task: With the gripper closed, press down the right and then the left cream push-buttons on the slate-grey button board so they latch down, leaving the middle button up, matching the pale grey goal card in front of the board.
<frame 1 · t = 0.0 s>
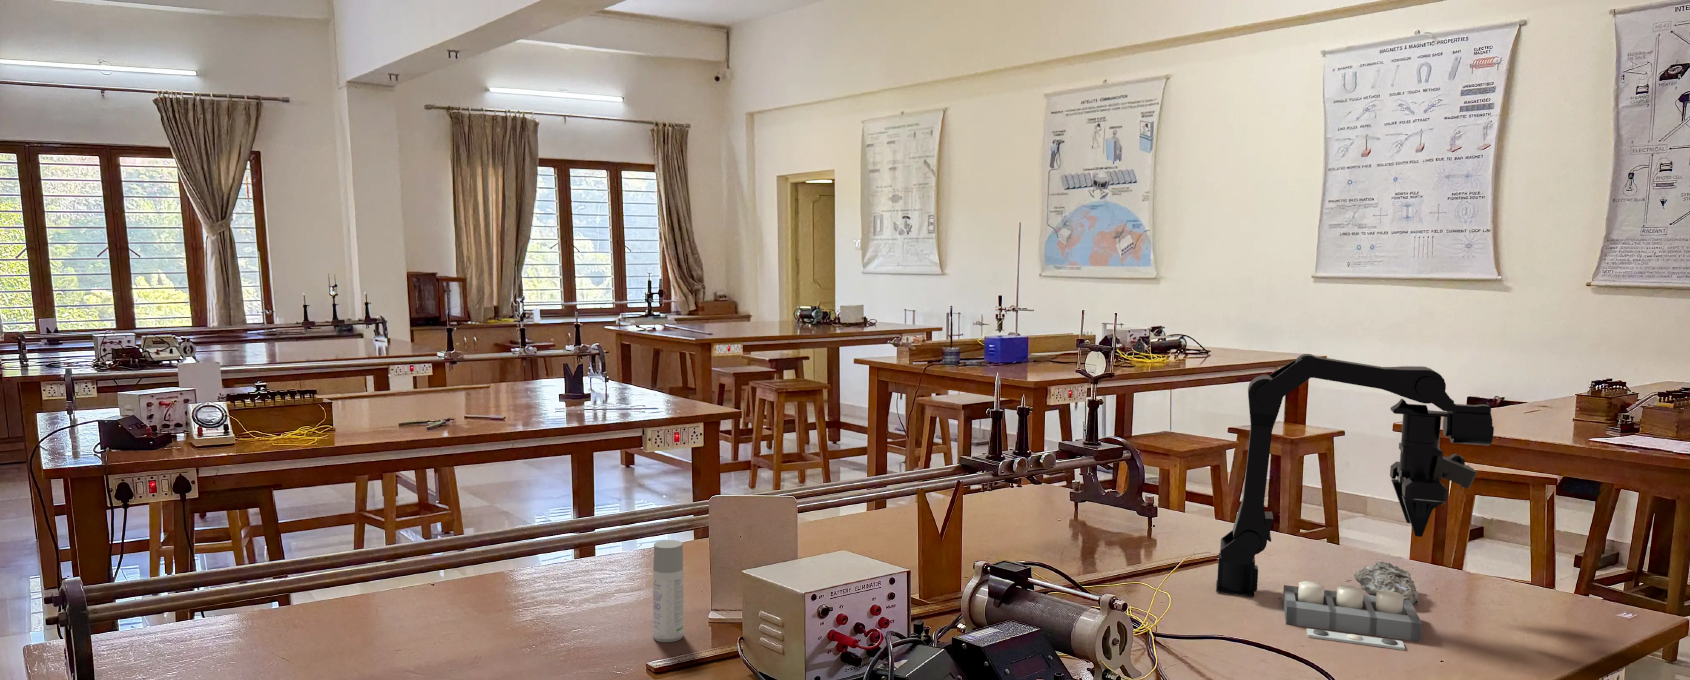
hand: (1414, 529, 179), 15 cm above the table, fingers open, 9 cm apart
container: (668, 637, 163), on the table
button board: (1348, 620, 175), on the table
button middle: (1349, 599, 175), point 4 cm above the table, slide at 0.0 cm
goal card: (1354, 640, 166), on the table
button right: (1389, 604, 173), point 4 cm above the table, slide at 0.0 cm
mineral specimen: (1388, 599, 187), on the table
button left: (1310, 595, 177), point 4 cm above the table, slide at 0.0 cm
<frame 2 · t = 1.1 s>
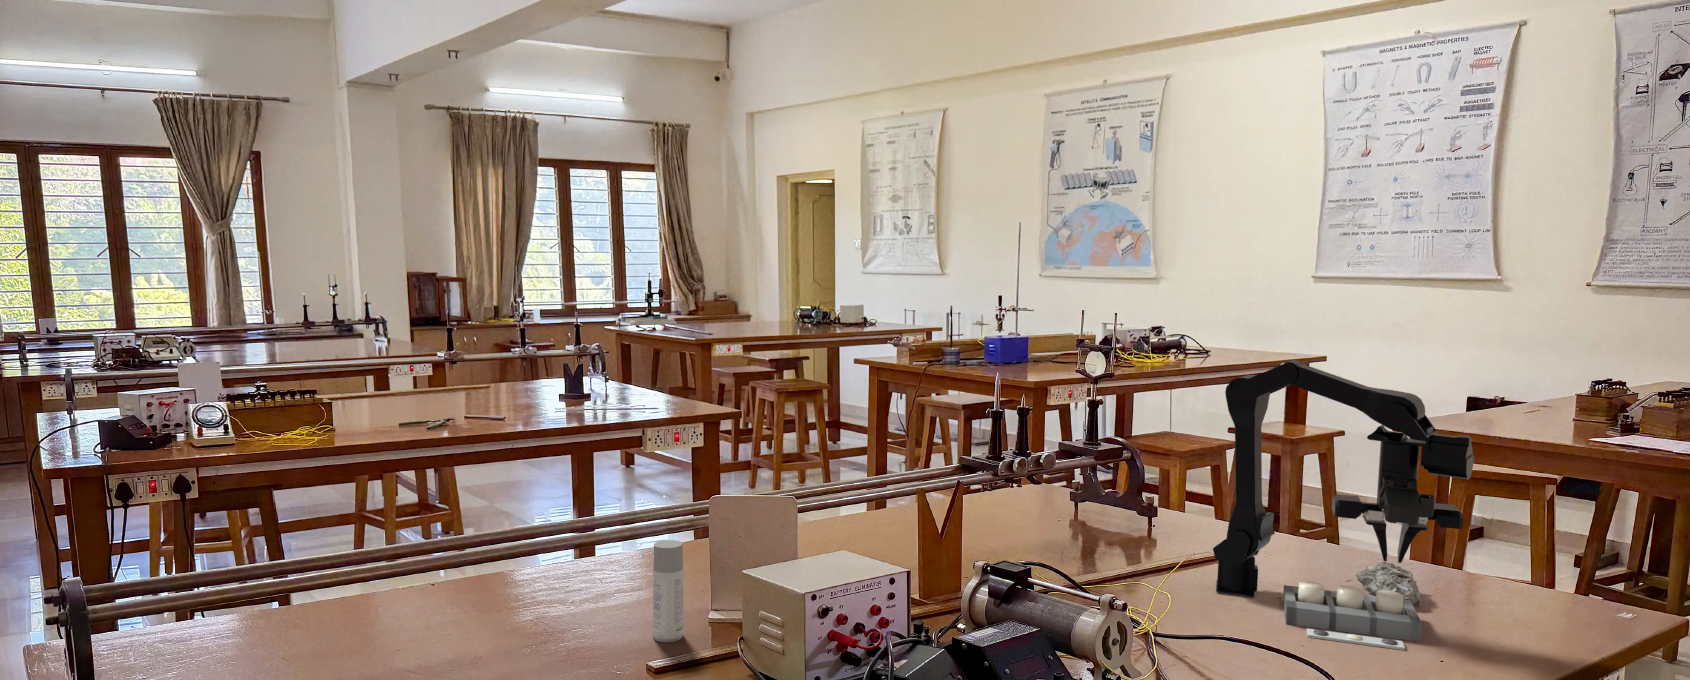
hand: (1392, 561, 172), 11 cm above the table, fingers closed
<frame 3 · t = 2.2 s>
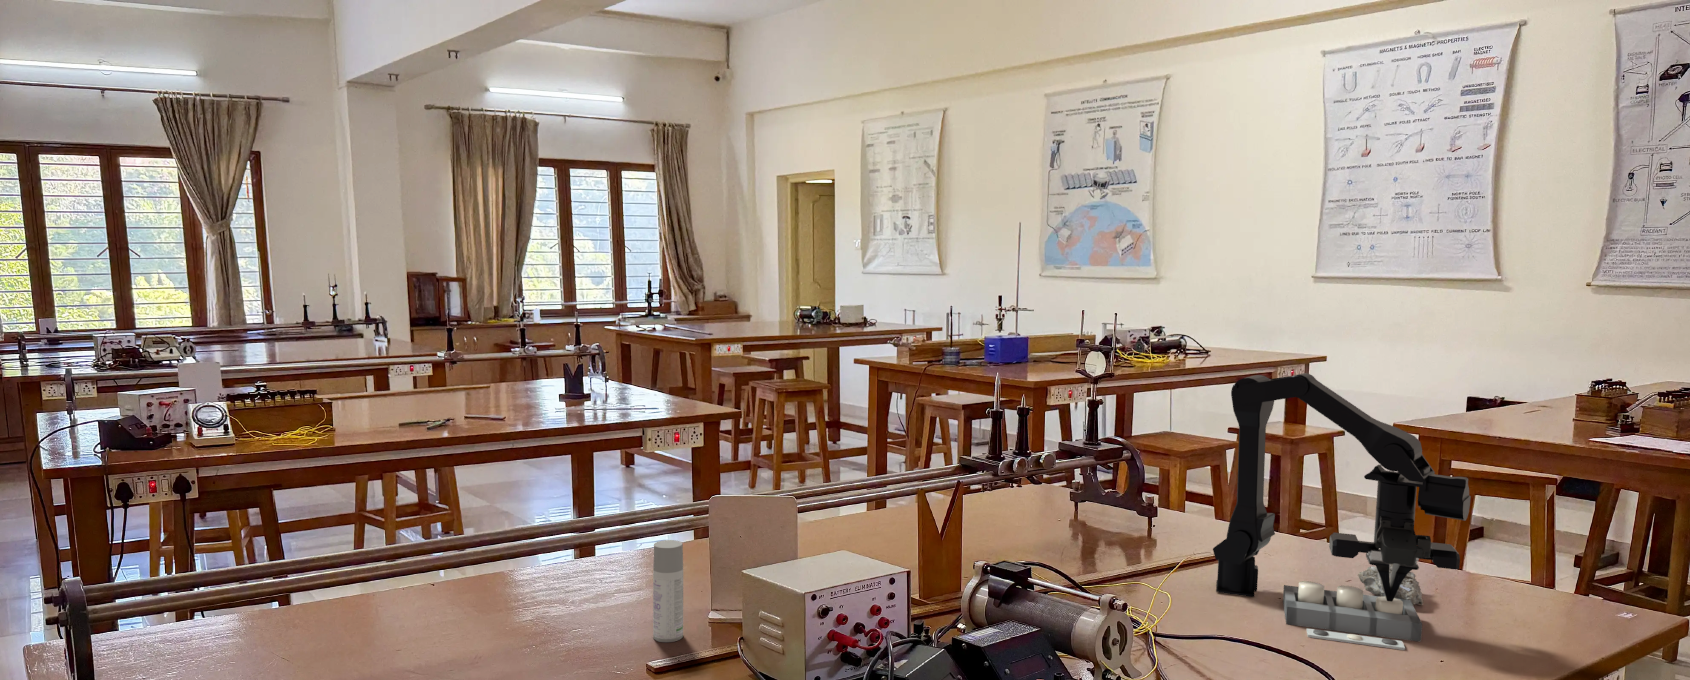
hand: (1389, 600, 173), 4 cm above the table, fingers closed, pressing on button right
button right: (1388, 610, 173), point 3 cm above the table, slide at 1.1 cm, touching gripper
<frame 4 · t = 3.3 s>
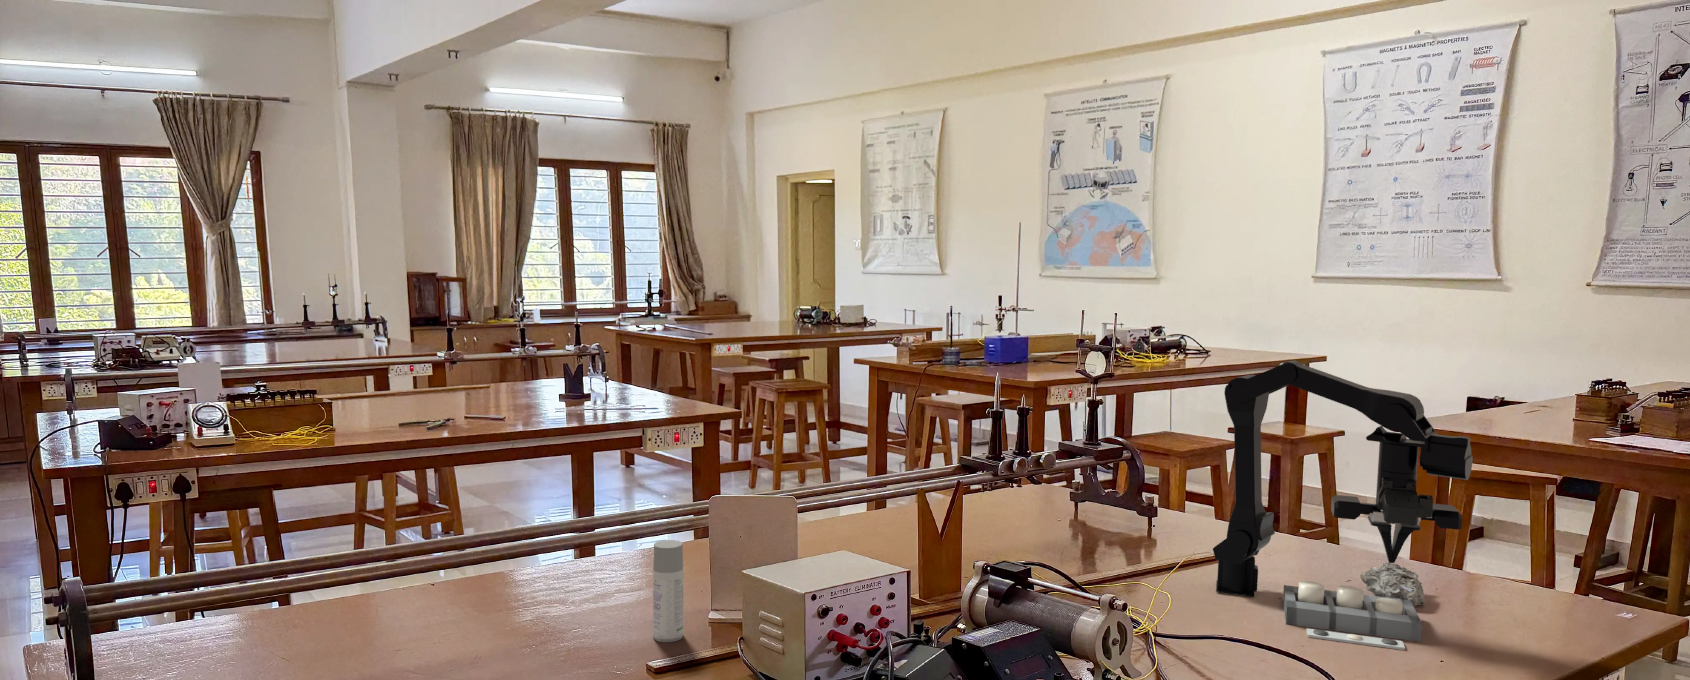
hand: (1391, 562, 172), 11 cm above the table, fingers closed
button right: (1388, 612, 173), point 2 cm above the table, slide at 1.3 cm
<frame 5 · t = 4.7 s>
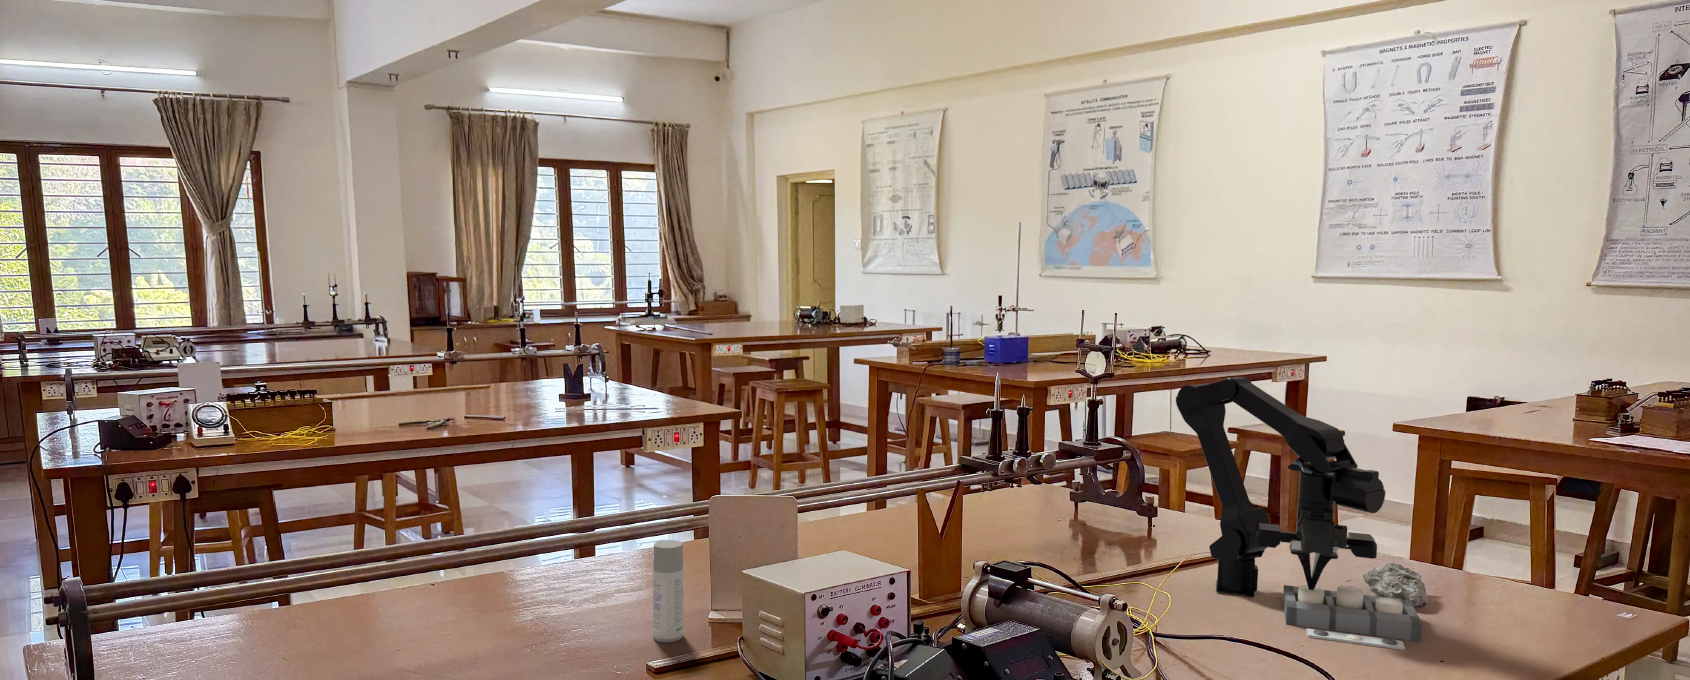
hand: (1310, 589, 177), 5 cm above the table, fingers closed, pressing on button left
button left: (1310, 599, 177), point 3 cm above the table, slide at 0.8 cm, touching gripper
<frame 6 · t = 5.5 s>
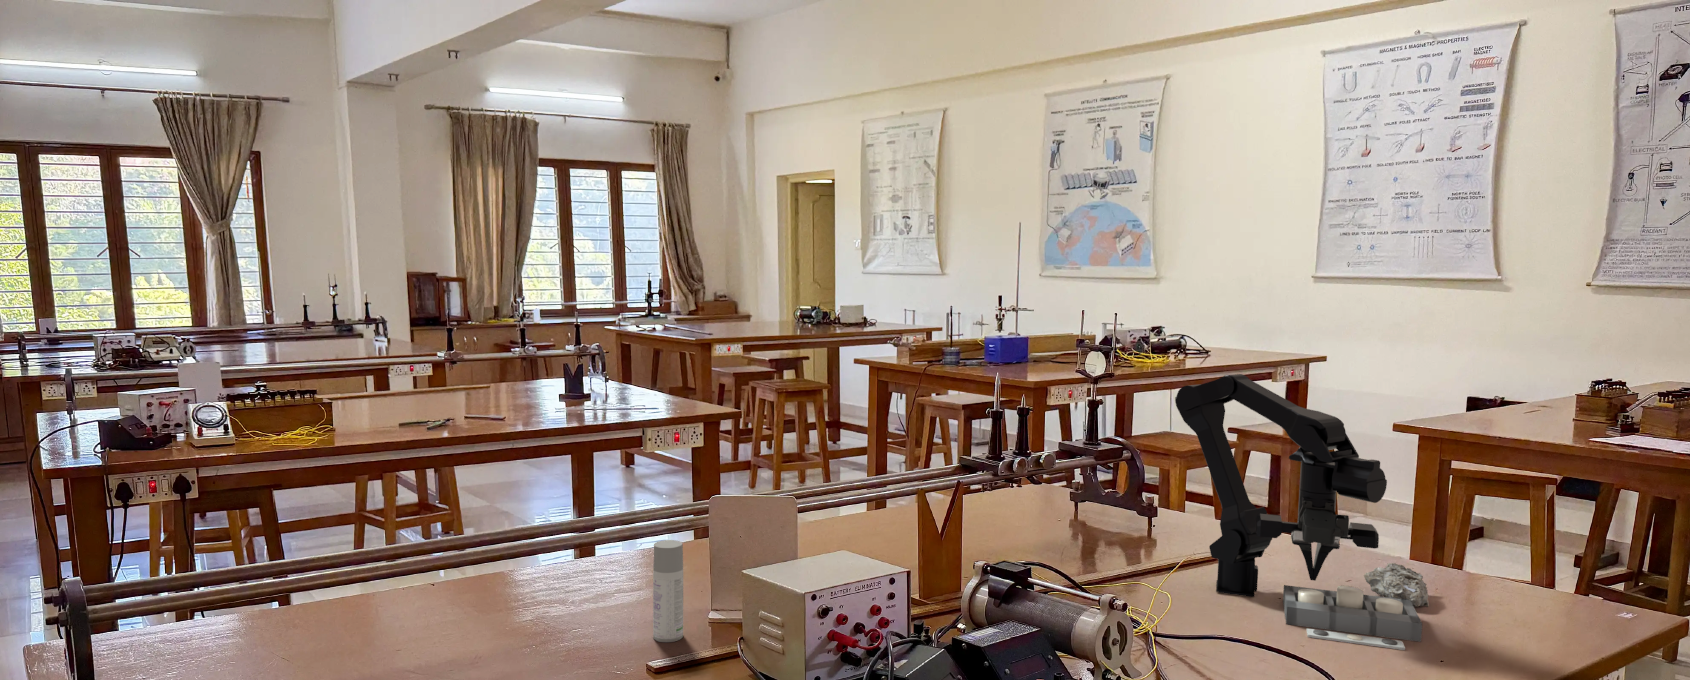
hand: (1312, 579, 176), 6 cm above the table, fingers closed
button left: (1310, 602, 177), point 2 cm above the table, slide at 1.3 cm
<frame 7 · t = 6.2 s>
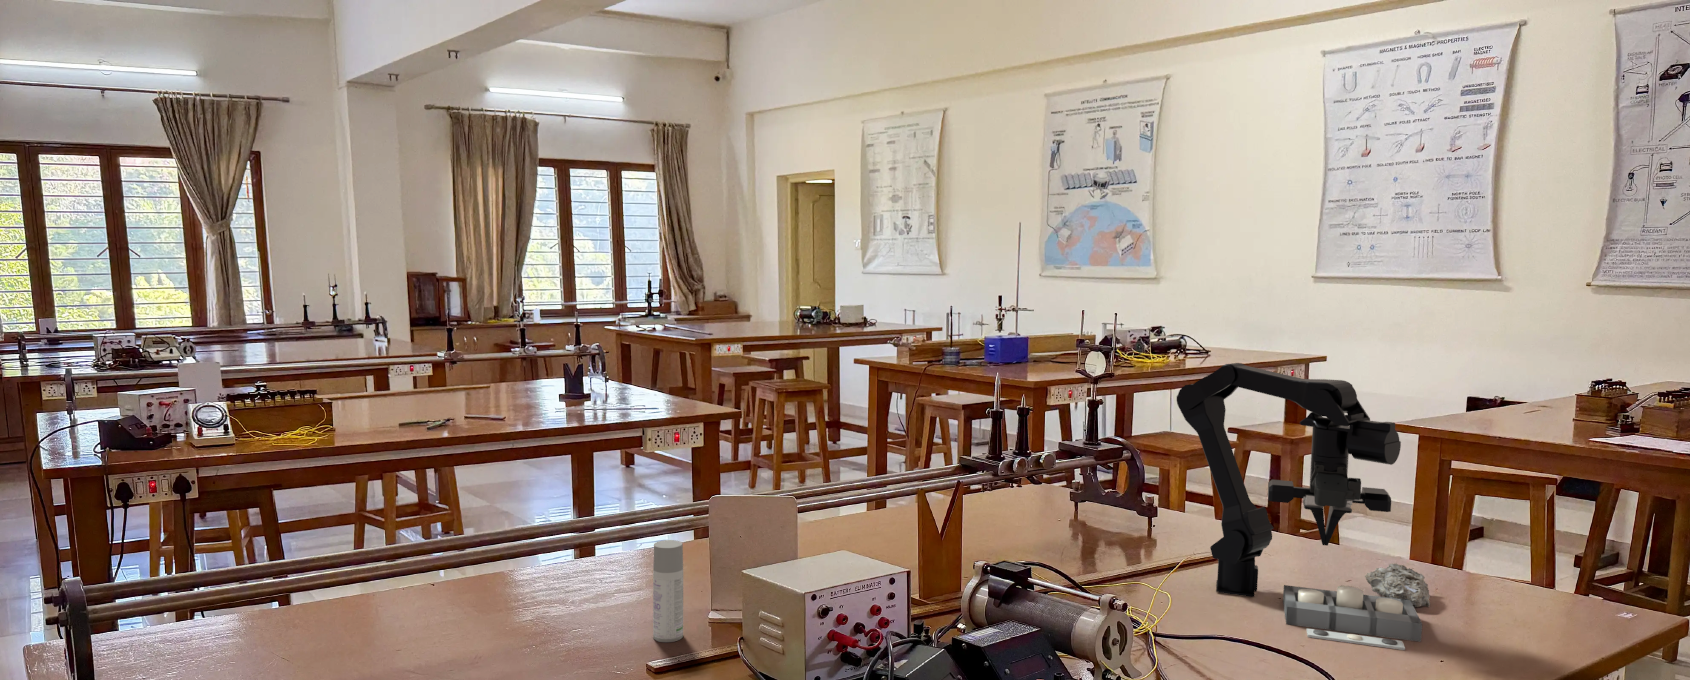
hand: (1324, 544, 176), 12 cm above the table, fingers closed
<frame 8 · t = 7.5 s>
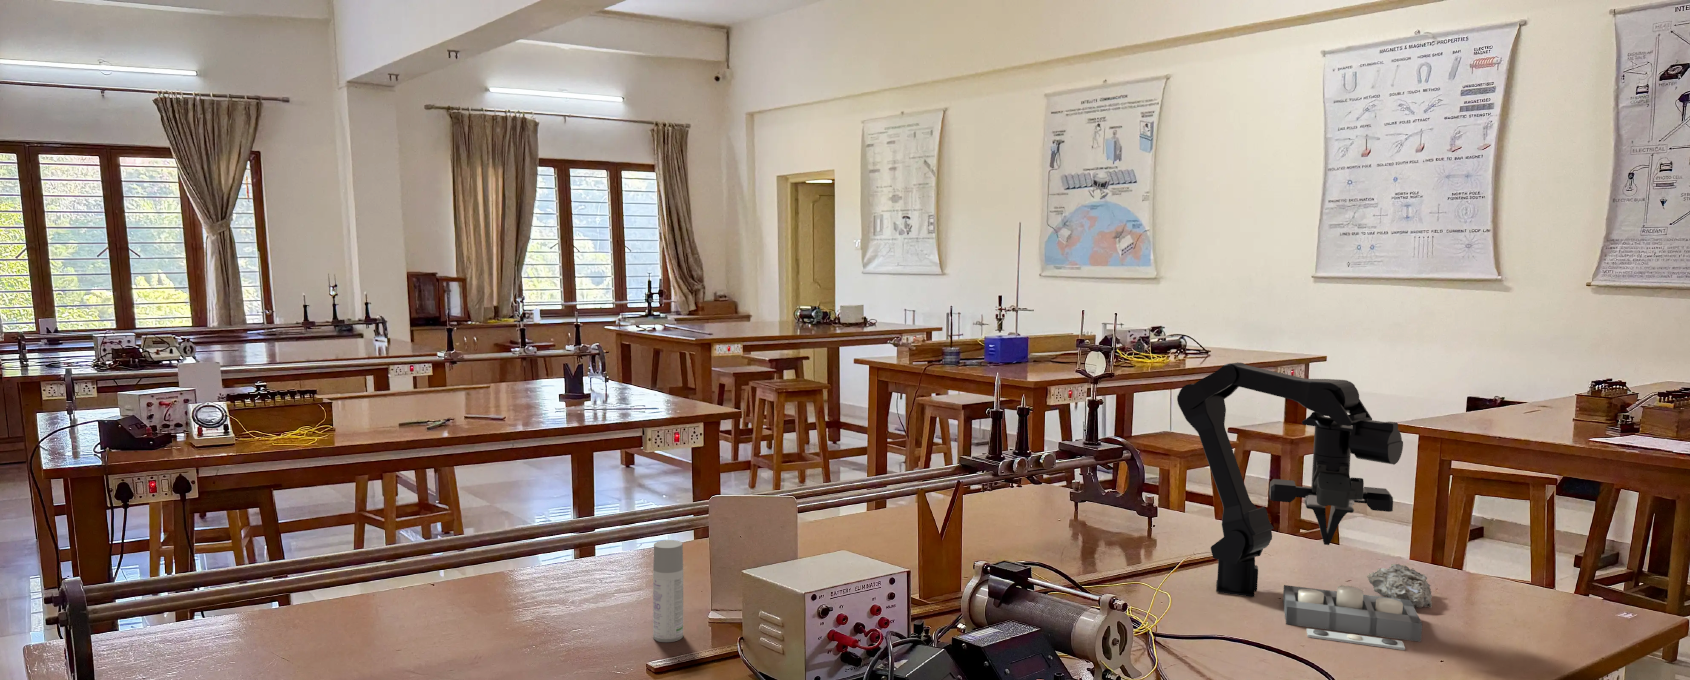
hand: (1326, 544, 176), 12 cm above the table, fingers closed
at the end: button right slide at 1.3 cm; button left slide at 1.3 cm; button middle slide at 0.0 cm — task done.
